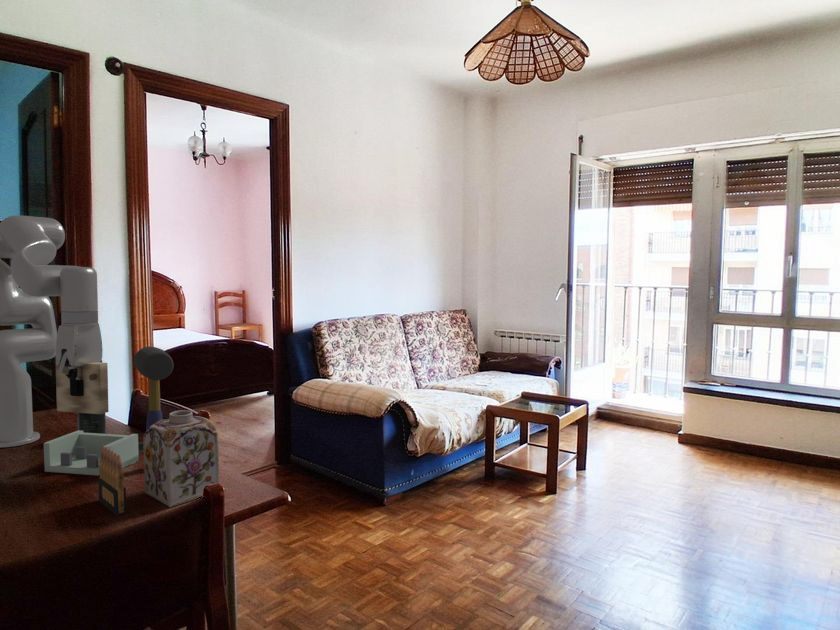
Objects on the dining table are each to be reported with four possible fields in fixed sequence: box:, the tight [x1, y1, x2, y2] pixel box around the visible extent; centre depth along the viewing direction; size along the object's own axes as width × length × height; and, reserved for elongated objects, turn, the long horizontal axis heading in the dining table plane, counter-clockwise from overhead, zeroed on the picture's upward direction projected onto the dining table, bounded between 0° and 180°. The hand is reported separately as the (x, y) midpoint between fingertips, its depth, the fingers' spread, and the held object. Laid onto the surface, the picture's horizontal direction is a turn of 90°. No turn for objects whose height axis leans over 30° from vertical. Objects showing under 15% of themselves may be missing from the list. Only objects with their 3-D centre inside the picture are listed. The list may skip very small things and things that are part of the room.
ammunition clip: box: [97, 445, 128, 516], centre depth 114 cm, size 11×2×12 cm, turn 47°
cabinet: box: [43, 429, 140, 476], centre depth 138 cm, size 17×11×7 cm, turn 81°
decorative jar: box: [142, 409, 220, 508], centre depth 121 cm, size 12×12×18 cm
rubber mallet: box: [133, 346, 174, 432], centre depth 136 cm, size 12×8×30 cm, turn 37°
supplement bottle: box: [77, 413, 107, 434], centre depth 159 cm, size 7×7×12 cm
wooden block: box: [55, 362, 109, 414], centre depth 133 cm, size 12×3×12 cm, turn 81°
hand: (82, 393), depth 134 cm, fingers closed on wooden block, 2 cm apart
